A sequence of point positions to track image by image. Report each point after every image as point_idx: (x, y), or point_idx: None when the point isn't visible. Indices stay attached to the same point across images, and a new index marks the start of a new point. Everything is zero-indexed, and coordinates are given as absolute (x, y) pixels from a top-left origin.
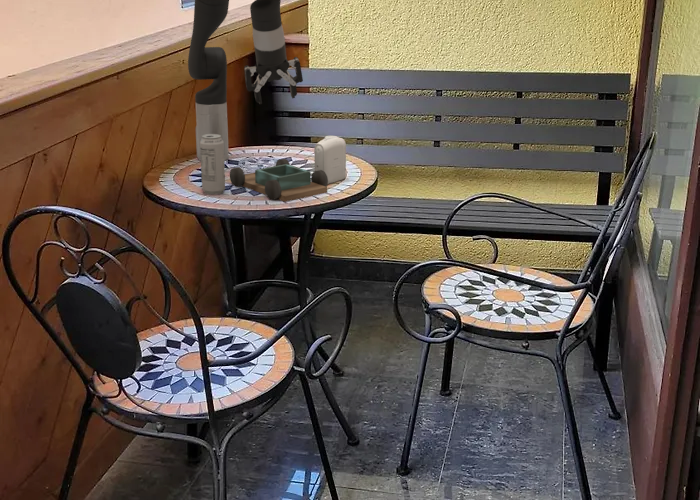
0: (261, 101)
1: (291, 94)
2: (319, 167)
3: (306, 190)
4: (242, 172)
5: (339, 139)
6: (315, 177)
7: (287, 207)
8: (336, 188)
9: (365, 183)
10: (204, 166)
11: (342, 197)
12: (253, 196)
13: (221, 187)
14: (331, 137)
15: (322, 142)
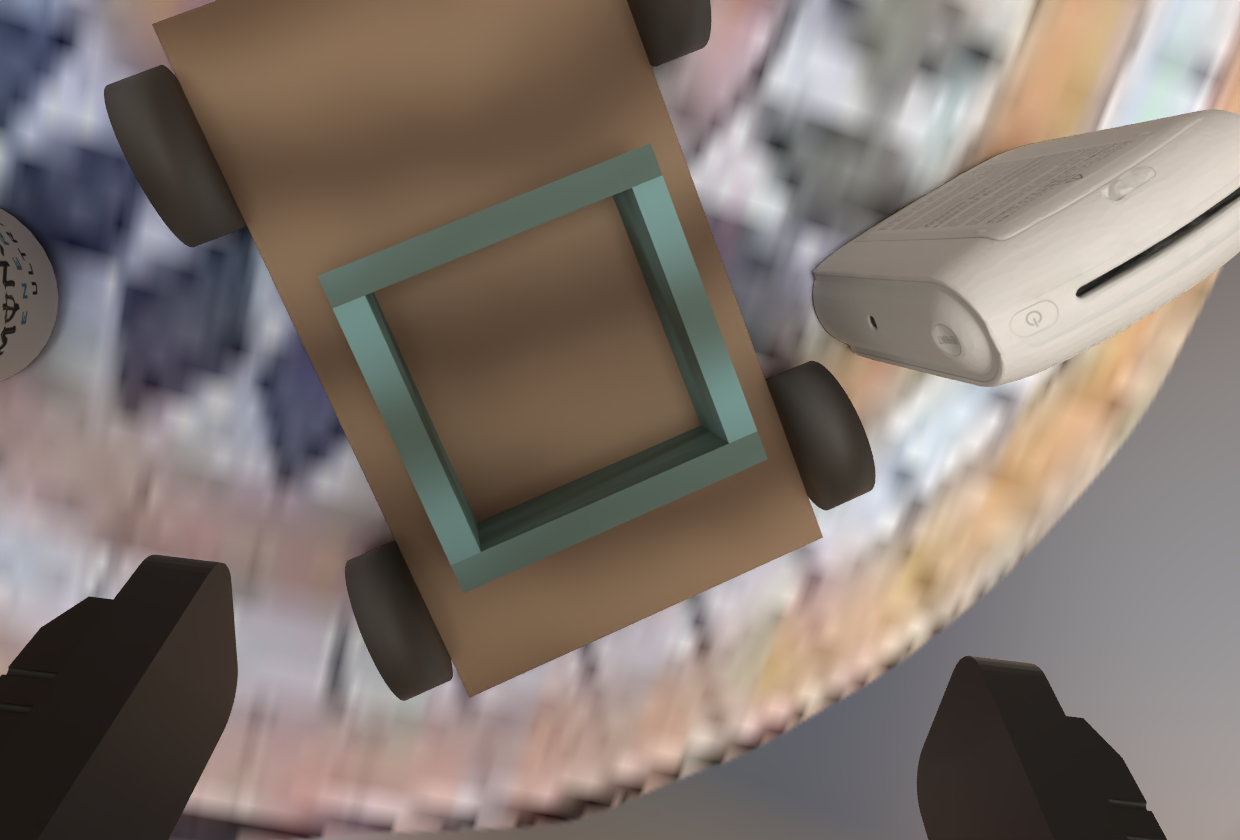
0: (197, 761)
1: (951, 803)
2: (881, 341)
3: (657, 589)
4: (208, 213)
5: (1238, 245)
6: (795, 425)
7: (452, 796)
8: (902, 445)
9: (1125, 376)
10: None
11: (860, 657)
12: (274, 494)
13: (4, 375)
14: (1183, 225)
15: (1034, 336)
